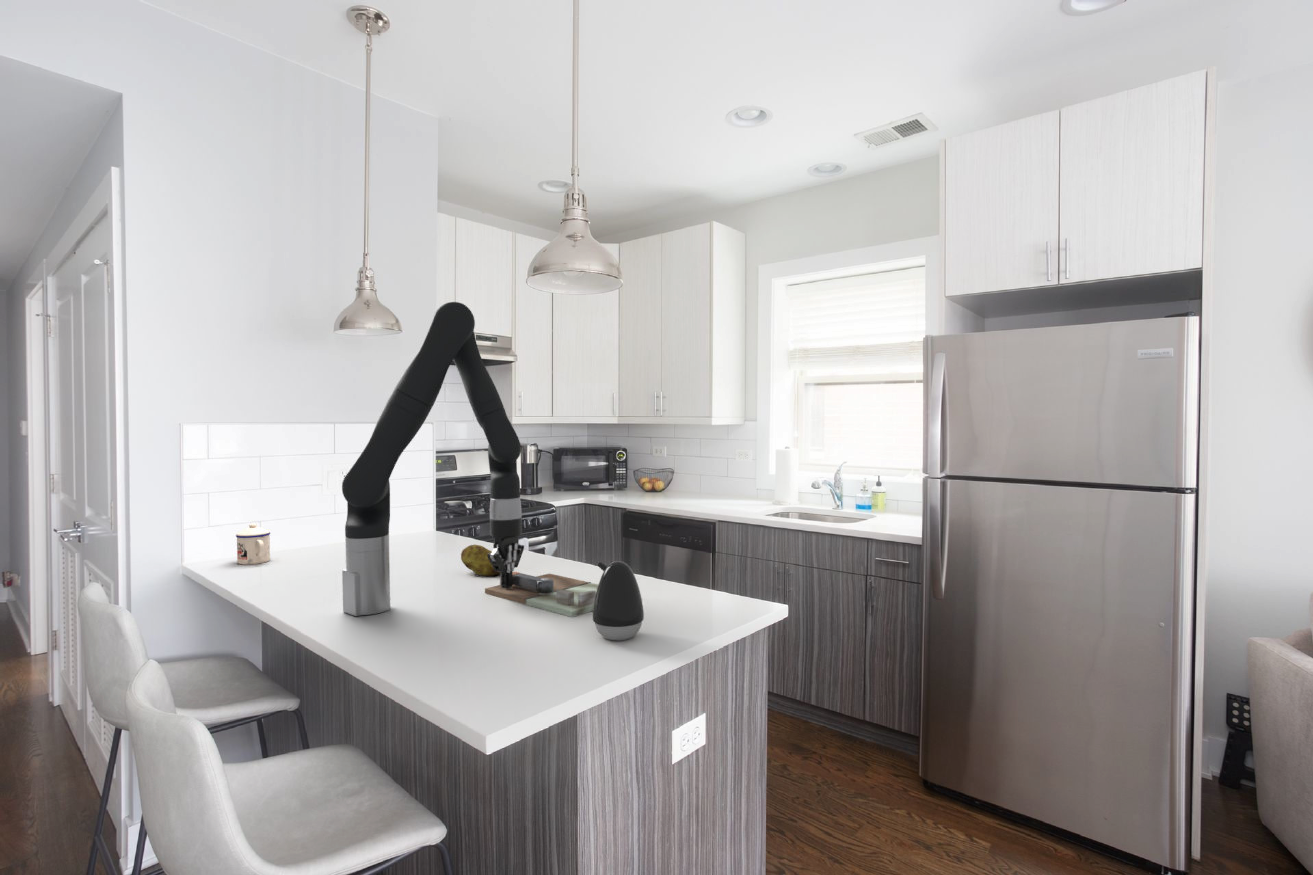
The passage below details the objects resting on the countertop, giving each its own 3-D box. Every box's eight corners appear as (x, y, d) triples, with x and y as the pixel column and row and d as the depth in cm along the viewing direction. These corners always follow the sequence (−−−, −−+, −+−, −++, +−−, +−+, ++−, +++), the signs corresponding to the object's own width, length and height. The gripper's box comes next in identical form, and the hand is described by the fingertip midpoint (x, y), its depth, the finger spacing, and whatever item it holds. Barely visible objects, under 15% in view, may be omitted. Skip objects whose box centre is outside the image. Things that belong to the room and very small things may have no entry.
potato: (485, 580, 186) (485, 550, 186) (456, 573, 194) (455, 545, 194) (509, 574, 193) (509, 546, 192) (480, 568, 201) (479, 541, 200)
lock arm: (544, 594, 164) (544, 581, 164) (505, 584, 174) (504, 572, 173) (557, 590, 167) (556, 578, 167) (517, 581, 177) (517, 569, 176)
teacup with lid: (232, 562, 211) (231, 524, 211) (264, 557, 218) (263, 520, 217) (245, 567, 203) (244, 528, 203) (279, 562, 210) (278, 524, 209)
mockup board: (571, 617, 152) (571, 599, 151) (484, 593, 172) (484, 577, 172) (636, 597, 168) (635, 581, 167) (549, 577, 188) (549, 563, 188)
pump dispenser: (616, 625, 146) (615, 553, 145) (654, 635, 139) (653, 560, 138) (581, 637, 138) (580, 562, 137) (620, 648, 131) (619, 569, 131)
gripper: (503, 521, 159) (505, 595, 159) (533, 513, 171) (534, 582, 172) (476, 519, 162) (477, 592, 162) (507, 511, 174) (508, 580, 174)
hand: (507, 587), depth 167 cm, fingers closed
